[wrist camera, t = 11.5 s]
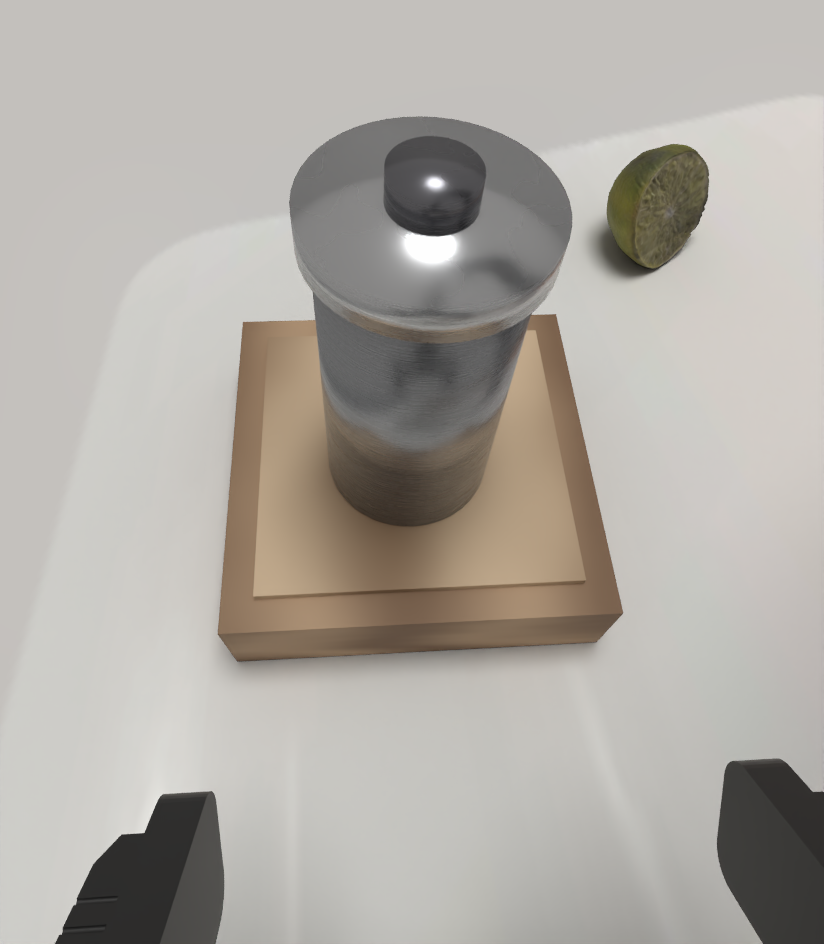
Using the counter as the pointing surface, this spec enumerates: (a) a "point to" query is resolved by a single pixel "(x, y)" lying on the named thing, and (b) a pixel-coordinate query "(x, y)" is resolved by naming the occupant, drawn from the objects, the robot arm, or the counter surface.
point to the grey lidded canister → (422, 300)
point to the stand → (408, 547)
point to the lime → (658, 203)
